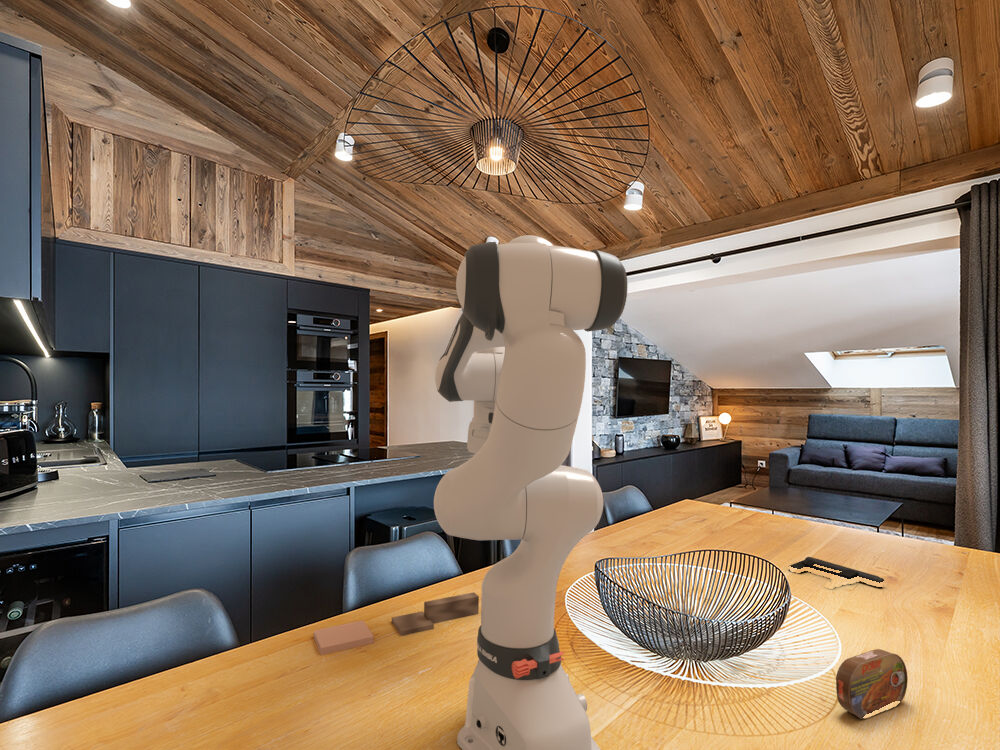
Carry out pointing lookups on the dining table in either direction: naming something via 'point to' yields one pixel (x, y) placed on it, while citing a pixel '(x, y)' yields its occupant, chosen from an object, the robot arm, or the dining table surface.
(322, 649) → the tile
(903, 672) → the tin
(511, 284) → the robot arm
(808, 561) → the door handle
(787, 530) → the dining table surface
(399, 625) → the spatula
